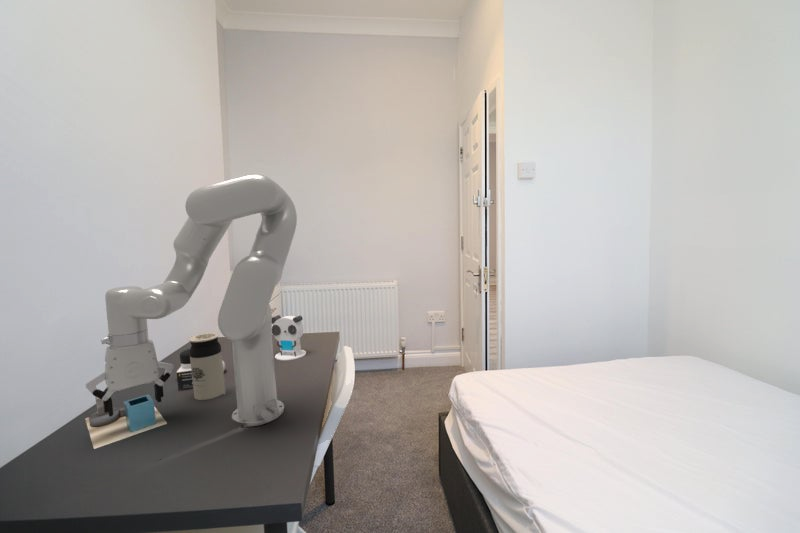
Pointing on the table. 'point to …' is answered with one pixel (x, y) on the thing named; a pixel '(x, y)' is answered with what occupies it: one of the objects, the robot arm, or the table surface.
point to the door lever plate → (113, 425)
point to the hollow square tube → (139, 413)
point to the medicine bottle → (185, 372)
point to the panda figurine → (288, 336)
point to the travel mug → (206, 366)
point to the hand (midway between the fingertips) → (135, 407)
